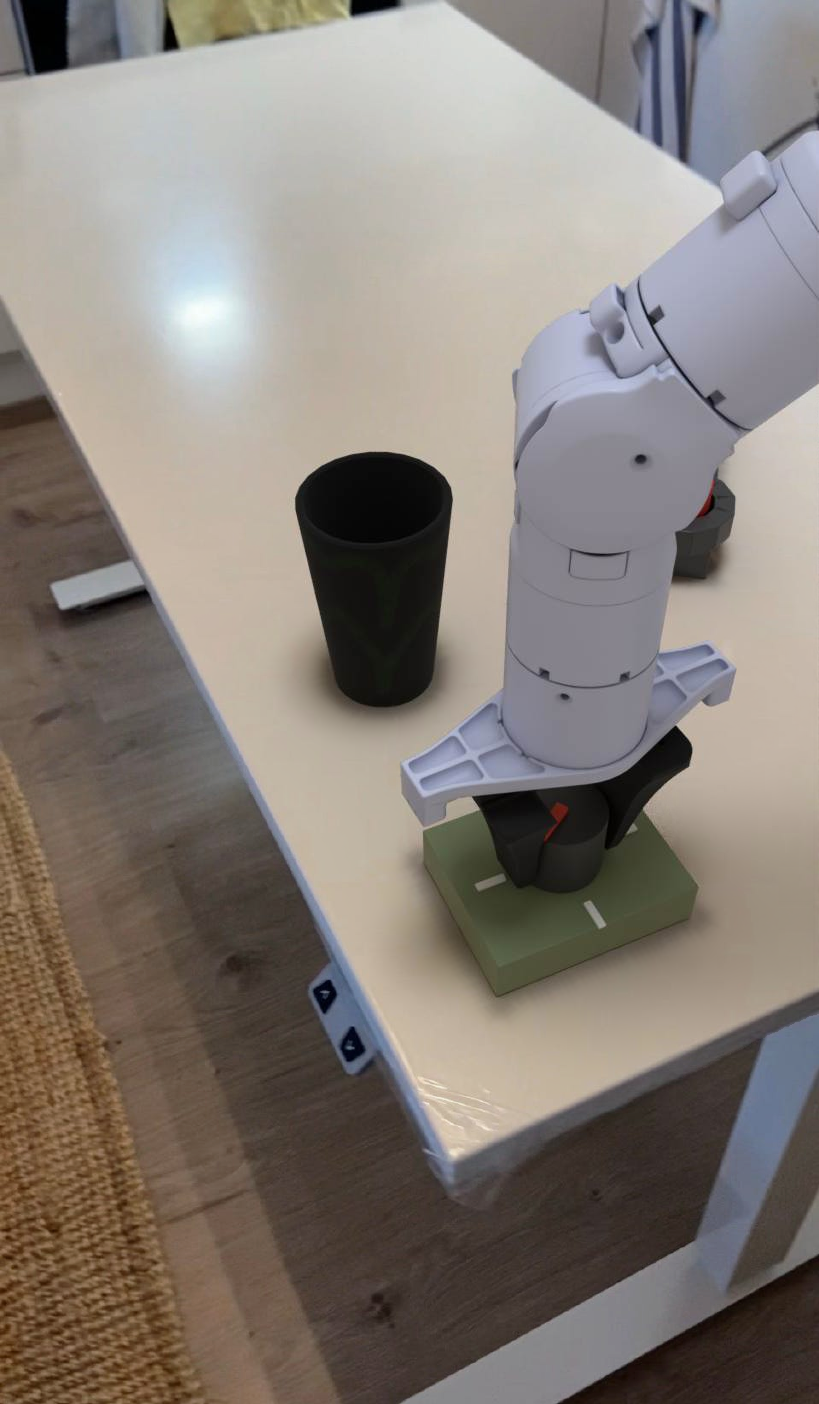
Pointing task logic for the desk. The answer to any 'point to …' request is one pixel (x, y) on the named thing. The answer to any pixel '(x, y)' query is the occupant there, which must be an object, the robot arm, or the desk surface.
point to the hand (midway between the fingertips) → (558, 850)
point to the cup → (377, 569)
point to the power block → (705, 533)
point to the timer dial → (572, 838)
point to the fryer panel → (554, 901)
